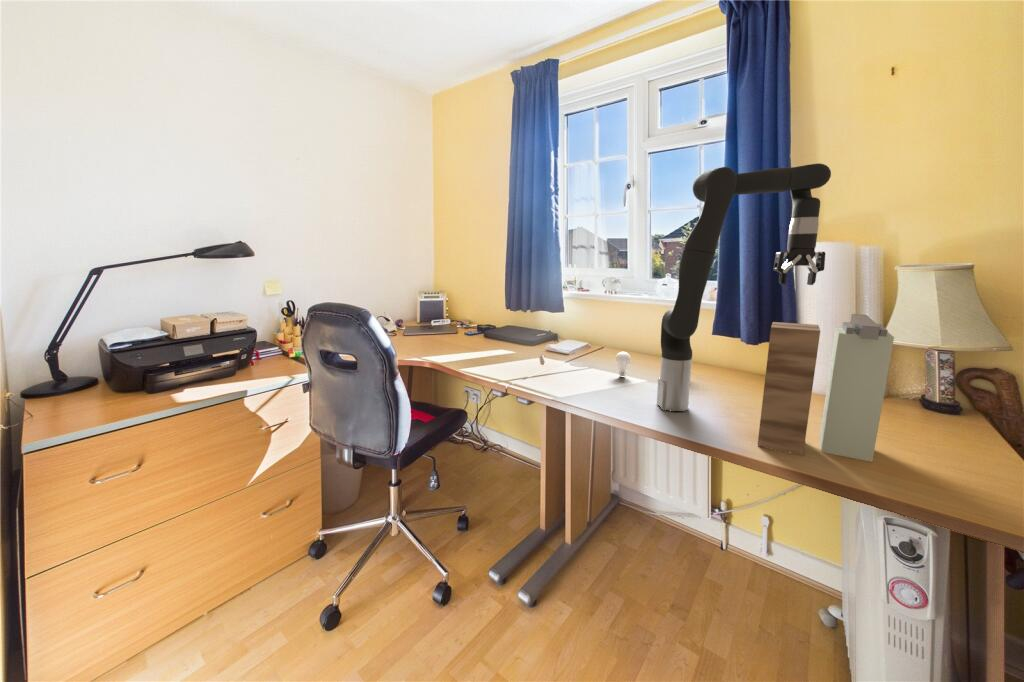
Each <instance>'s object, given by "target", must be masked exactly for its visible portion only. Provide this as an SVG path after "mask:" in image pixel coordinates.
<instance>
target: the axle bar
mask: <svg viewBox="0 0 1024 682" xmlns="http://www.w3.org/2000/svg"><path fill="white" fill-rule="evenodd" d="M850 315H851V316H850V322H849V323H850V324H851V326H852V327H853V330H854V331H855V332H856V333H857V335H858V336H859V337H860V338H861V339H871V340H878V337H879V331H880V326H879V325H878V324H879V323H877V322H876V321H874V320H873V319H872V318H871V317H870V316H868V315H867V314H859V313H856V314H855V313H851V314H850Z"/></svg>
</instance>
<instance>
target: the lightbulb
mask: <svg viewBox="0 0 1024 682" xmlns="http://www.w3.org/2000/svg"><path fill="white" fill-rule="evenodd" d="M631 360H632V357H631V355H630V354H629V353H628V352H626V351H620V352H618V353H617V354H616V355H615V357H614V362H615V364H616V365H617V367H618V376H619V375H620V376H625V375H626V373H627V369H628V367H629V365H630V364H631V363H632V361H631ZM620 376H619V377H620ZM625 377H626V376H625Z"/></svg>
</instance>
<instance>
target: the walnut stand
mask: <svg viewBox="0 0 1024 682" xmlns="http://www.w3.org/2000/svg"><path fill="white" fill-rule="evenodd" d="M820 336H821V328H820V325H819V324H813V323H812V324H810V323H796V322H795V323H793V322H778V321H773V322H772V323H771V326H770V333H769V342H768V352H767V360H766V366H765V367H766V368H765V376H764V385H763V392H762V393H763V395H762V402H761V403H762V405H761V411H760V413H761V414H760V420H759V429H758V437H757V438H758V439H757V445H758V446H757V447H759V446H763V447H762V448H764V447H767V448H766V449H769V448H772V449H771V450H774V449H776V450H775V451H779V450H781V451H780V452H783V451H785V452H784V453H788V452H791V453H790V454H793V453H794V455H798V454H799V455H798V456H804V452H805V445H806V436H807V429H808V425H809V424H808V423H809V415H810V408H811V401H812V394H813V386H814V380H815V372H816V366H817V358H818V350H819V343H820V338H821V337H820Z"/></svg>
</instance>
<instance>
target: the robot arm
mask: <svg viewBox="0 0 1024 682" xmlns="http://www.w3.org/2000/svg"><path fill="white" fill-rule="evenodd" d="M831 177H832V171H831V168H830V167H829V166H828V165H826V164H823V163H811V164H805V165H804V164H803V165H799V166H792V167H791V166H790V167H777V168H776V167H775V168H765V169H761V170H754V171H748V172H742V173H741V172H740V173H735V171H734V170H733V169H732V168H731V167H728V166H723V167H717V168H713V169H709V170H707V171H704V172H702V173H700V174H699V175H698V176H697V177H696V179H695V180H694V181H693V183H692V193H693V196H694V197H695V198H696V199H697V200H698V201H700V202H703V207H702V210H701V214H700V215H699V218H698V220H697V222H696V223H695V225H694V227H693V228H692V230H691V232H690V233H689V235H688V236H687V238H686V240H685V242H684V244H683V247H682V251H681V256H680V261H679V264H678V265H679V266H678V291H677V295H676V299H675V303H674V306H673V307H671V308H670V309H669V308H668V310H666V312H664V313H663V314H664V315H663V316H662V318H661V324H660V325H661V328H660V348H661V349H660V350H661V359H660V361H661V362H660V373H659V375H660V376H659V377H658V379H657V393H656V405H657V404H658V405H659V406H660V407H661V409H666V410H671V411H684V412H686V411H685V410H687V409H688V410H689V403H690V402H689V400H690V386H691V375H692V362H693V349H692V347H691V337H692V336H693V335H694V334H695V332H696V330H697V328H698V325H699V318H700V315H701V314H700V312H701V307H702V306H701V305H702V300H703V297H704V292H705V289H706V286H707V284H708V280H709V275H710V274H711V273H710V272H711V269H712V266H713V262H714V258H715V255H716V251H717V247H718V243H719V239H720V237H721V236H720V235H721V232H722V229H723V225H724V221H725V219H726V215H727V212H728V210H729V207H730V205H731V202H732V200H733V197H734V196H738V195H739V196H740V195H755V194H756V195H758V194H776V193H786V192H789V191H790V197H791V201H792V210H791V218H790V219H791V220H790V224H789V229H788V236H787V244H786V250H787V251H786V252H783V251H778V252H777V251H776V253H775V258H774V262H773V271H775V272H777V273H778V274H779V275H778V283H779V285H781V286H786V285H787V278H788V273H787V272H788V271H789V270H791V269H792V268H793V267H794V266H795V267H798V266H803V267H805V268H806V269H807V270H808V271H809V272H808V274H807V282H806V285H807V286H814V285H815V284H816V281H817V274H818V273H819V272H823V271H824V270H825V264H826V252H825V251H816V250H815V249H816V247H817V241H818V240H817V239H818V234H819V233H818V232H819V225H820V224H819V221H820V220H819V219H820V218H819V217H820V210H821V200H820V198H818V197H813V195H812V190H814V189H819V188H821V187H823V186H825V185H826V184H827V183H828V182H829V181H830V178H831ZM814 258H815V262H814V260H813V259H814ZM784 259H786V261H784ZM783 262H784V263H783ZM658 405H657V406H658ZM659 406H658V407H659ZM660 407H659V408H660ZM666 410H665V411H666ZM688 410H687V411H688ZM671 411H670V412H671Z"/></svg>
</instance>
